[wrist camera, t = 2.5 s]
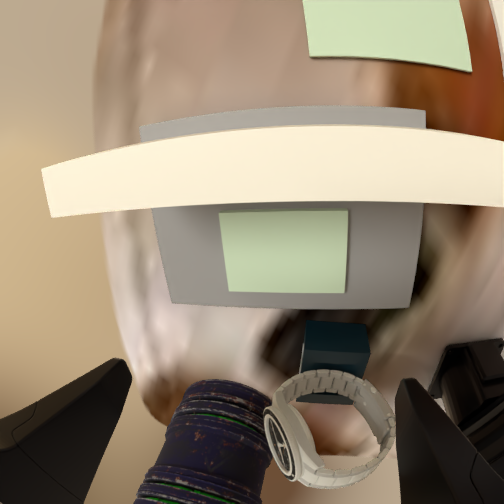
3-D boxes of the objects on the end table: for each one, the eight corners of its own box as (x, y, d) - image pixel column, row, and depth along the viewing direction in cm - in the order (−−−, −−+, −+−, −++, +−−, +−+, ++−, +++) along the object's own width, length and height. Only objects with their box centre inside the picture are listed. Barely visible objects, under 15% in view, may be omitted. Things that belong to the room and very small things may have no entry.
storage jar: (193, 427, 30) (148, 535, 17) (173, 371, 26) (103, 505, 13) (279, 439, 28) (254, 561, 15) (280, 384, 24) (245, 548, 11)
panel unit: (403, 295, 19) (442, 404, 10) (179, 292, 22) (115, 384, 14) (416, 110, 14) (511, 111, 5) (151, 125, 17) (37, 144, 9)
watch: (279, 317, 21) (249, 454, 11) (388, 325, 20) (416, 458, 10) (275, 370, 24) (249, 491, 14) (370, 377, 22) (379, 496, 12)
